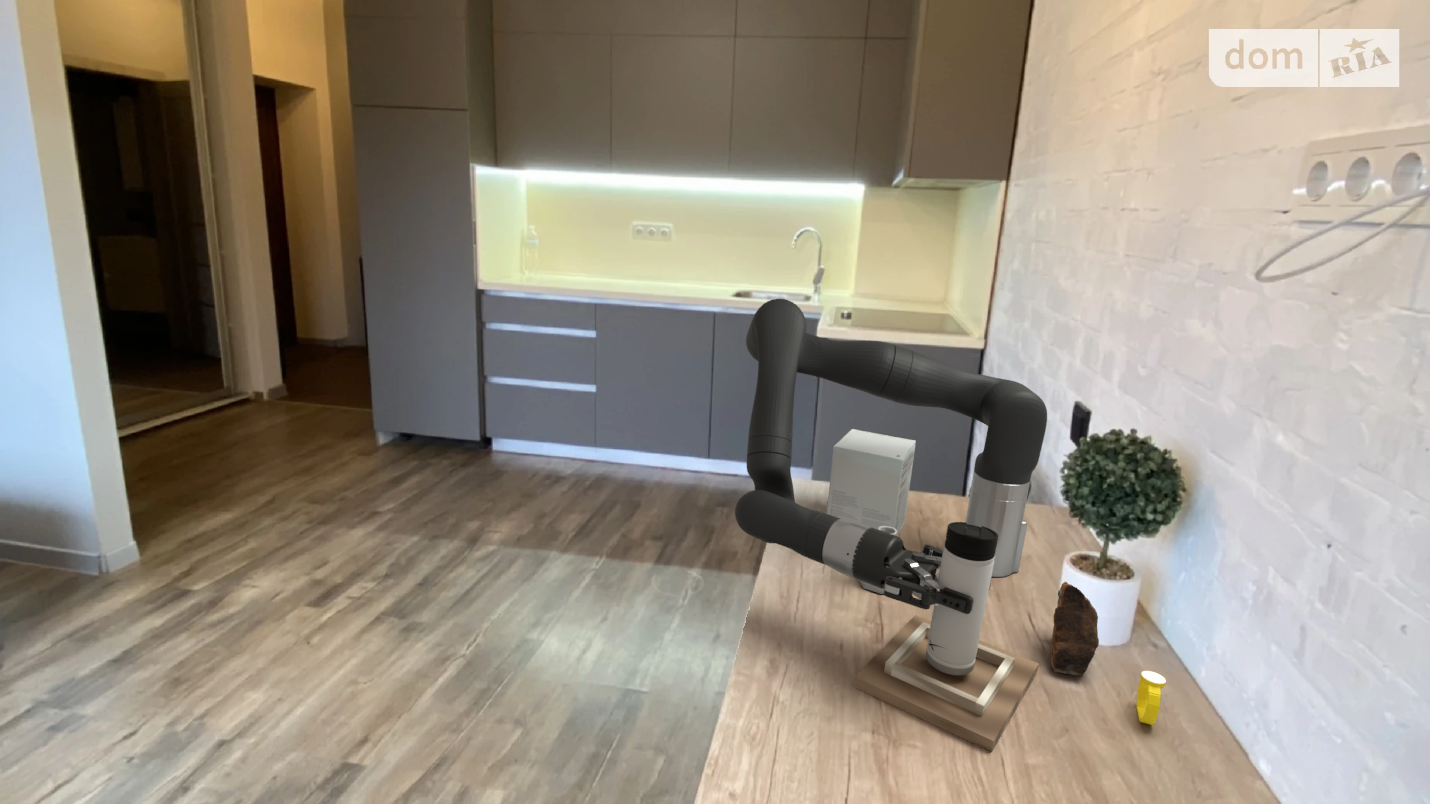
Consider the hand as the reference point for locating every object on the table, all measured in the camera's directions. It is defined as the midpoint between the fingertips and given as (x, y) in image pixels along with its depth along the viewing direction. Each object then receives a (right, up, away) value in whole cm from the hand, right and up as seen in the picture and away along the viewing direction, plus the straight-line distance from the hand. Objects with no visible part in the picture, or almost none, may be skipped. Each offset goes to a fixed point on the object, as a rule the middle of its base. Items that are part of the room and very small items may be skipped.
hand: (980, 595), depth 95 cm
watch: (+21, -16, 0) cm, 26 cm away
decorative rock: (+17, -12, +12) cm, 24 cm away
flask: (-6, -6, +29) cm, 30 cm away
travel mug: (-3, -10, +4) cm, 11 cm away
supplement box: (-4, 0, +51) cm, 51 cm away
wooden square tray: (-3, -13, +5) cm, 14 cm away
